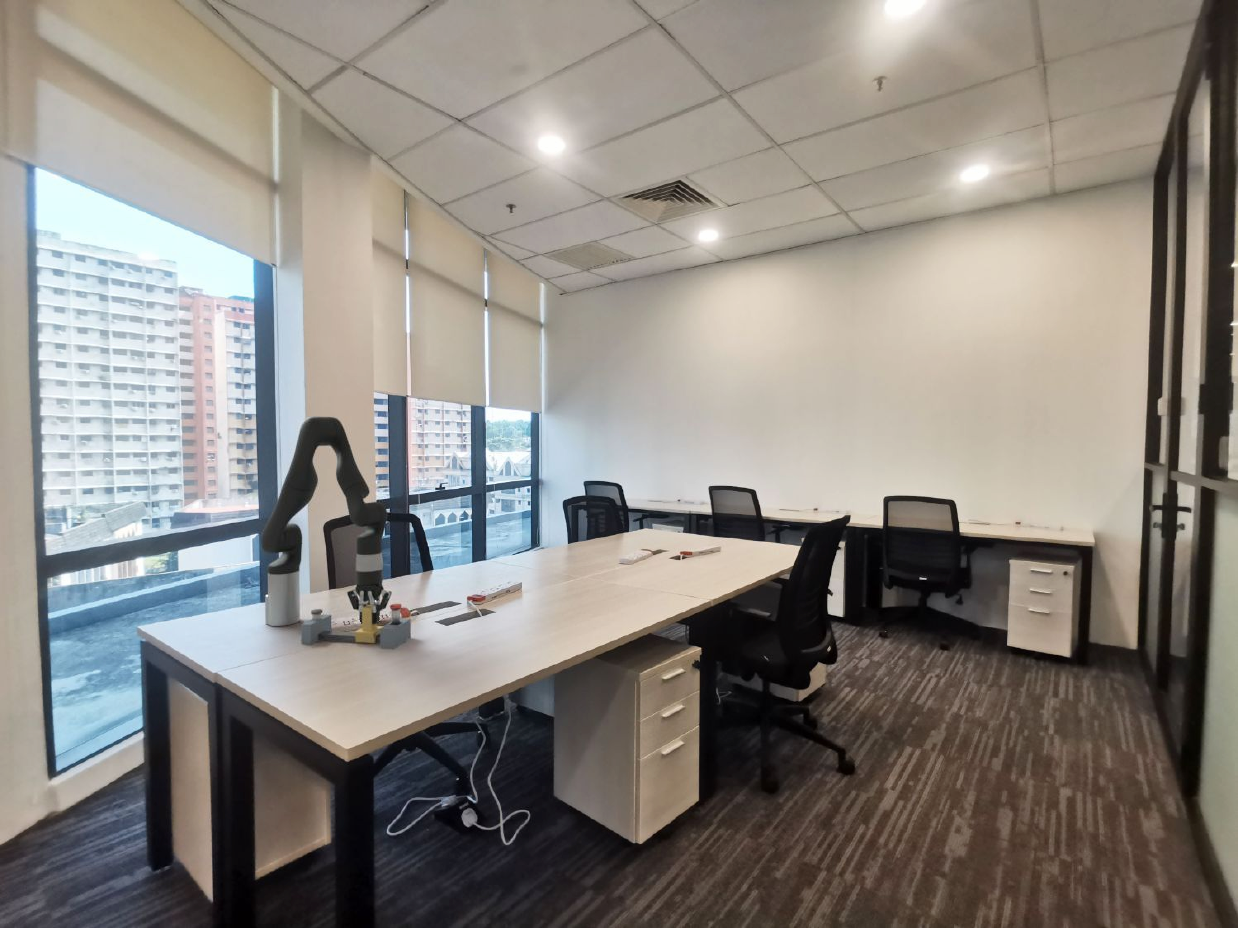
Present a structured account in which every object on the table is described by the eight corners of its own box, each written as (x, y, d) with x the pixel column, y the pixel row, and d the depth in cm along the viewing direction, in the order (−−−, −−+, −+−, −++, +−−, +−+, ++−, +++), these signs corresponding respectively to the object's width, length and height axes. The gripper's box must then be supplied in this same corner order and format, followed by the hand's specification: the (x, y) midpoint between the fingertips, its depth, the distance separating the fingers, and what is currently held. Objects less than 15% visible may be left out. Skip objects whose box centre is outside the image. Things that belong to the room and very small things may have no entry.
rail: (318, 640, 172) (318, 633, 172) (324, 637, 175) (324, 630, 175) (386, 644, 170) (386, 637, 170) (391, 640, 173) (391, 634, 172)
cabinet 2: (380, 648, 166) (380, 628, 166) (397, 636, 176) (397, 617, 176) (394, 648, 166) (394, 628, 165) (410, 637, 176) (410, 618, 175)
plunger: (388, 625, 169) (388, 606, 169) (393, 622, 172) (393, 603, 172) (398, 625, 169) (398, 606, 169) (403, 622, 172) (403, 603, 172)
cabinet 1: (301, 643, 169) (301, 615, 169) (322, 632, 179) (322, 605, 179) (310, 644, 169) (310, 615, 168) (331, 633, 179) (331, 606, 178)
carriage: (354, 642, 169) (354, 608, 169) (366, 635, 175) (365, 603, 175) (373, 643, 168) (373, 609, 168) (384, 636, 174) (383, 604, 174)
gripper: (340, 569, 168) (340, 626, 169) (384, 571, 166) (384, 628, 167) (355, 564, 176) (355, 618, 176) (397, 565, 174) (397, 620, 175)
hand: (369, 623), depth 172 cm, fingers closed on carriage, 3 cm apart
